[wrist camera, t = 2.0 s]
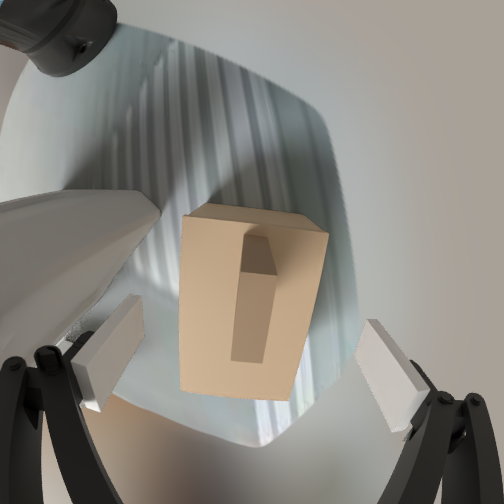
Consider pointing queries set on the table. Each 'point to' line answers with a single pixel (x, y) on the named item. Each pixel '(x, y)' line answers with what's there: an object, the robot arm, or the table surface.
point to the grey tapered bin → (62, 260)
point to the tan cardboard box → (245, 305)
